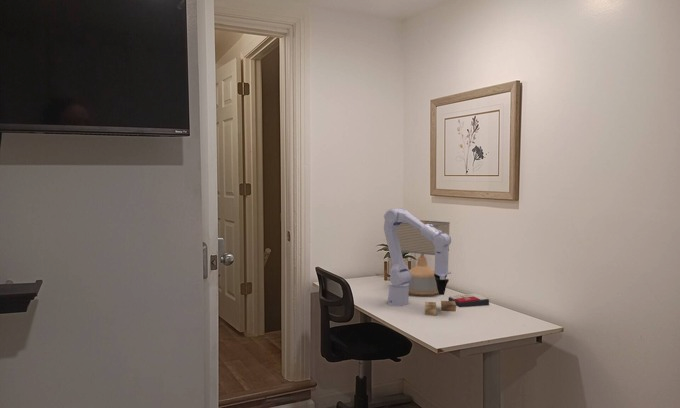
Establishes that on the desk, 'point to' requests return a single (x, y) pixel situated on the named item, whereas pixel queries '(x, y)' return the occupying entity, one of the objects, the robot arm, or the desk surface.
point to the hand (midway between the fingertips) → (440, 292)
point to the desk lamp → (417, 243)
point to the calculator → (469, 300)
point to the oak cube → (430, 308)
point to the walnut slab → (448, 306)
